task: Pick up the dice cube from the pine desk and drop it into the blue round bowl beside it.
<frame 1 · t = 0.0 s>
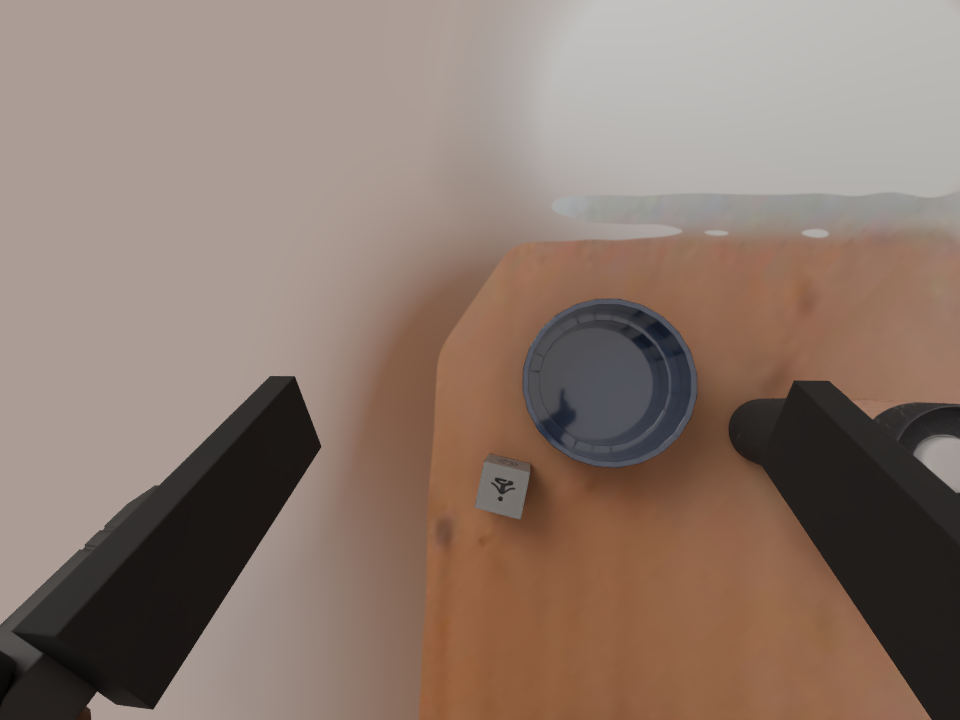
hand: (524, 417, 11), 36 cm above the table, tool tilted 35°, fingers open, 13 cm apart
dice cube: (505, 479, 46), on the table
travel mug: (761, 430, 43), on the table
blue round bowl: (597, 382, 45), on the table
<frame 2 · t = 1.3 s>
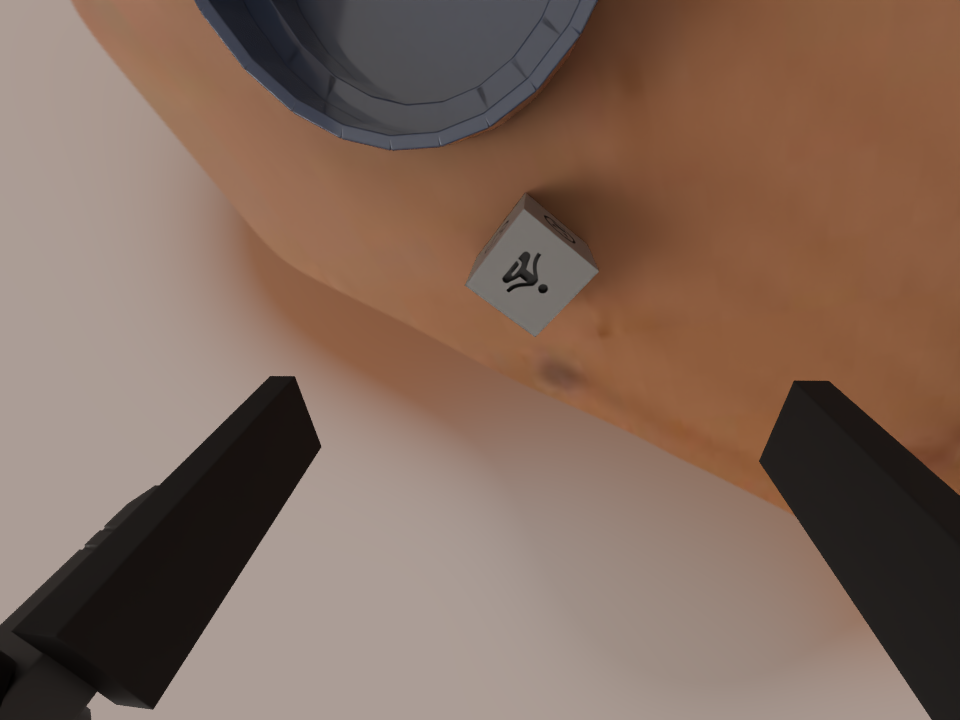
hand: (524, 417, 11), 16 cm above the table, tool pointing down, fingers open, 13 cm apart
dice cube: (530, 250, 25), on the table
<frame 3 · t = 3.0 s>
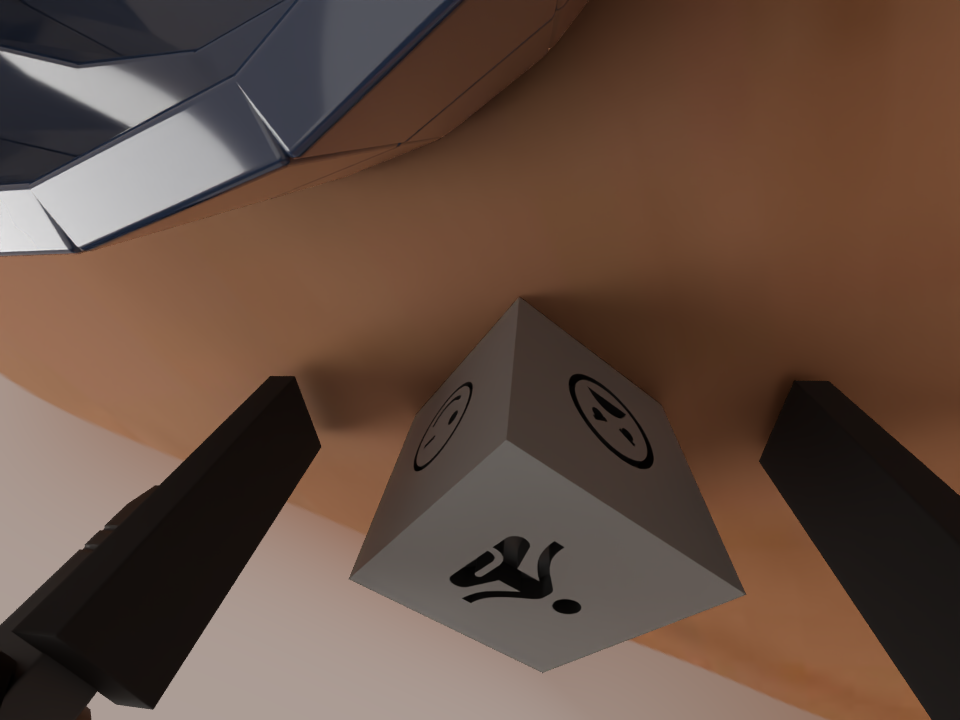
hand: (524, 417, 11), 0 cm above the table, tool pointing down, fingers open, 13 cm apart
dice cube: (531, 406, 11), on the table
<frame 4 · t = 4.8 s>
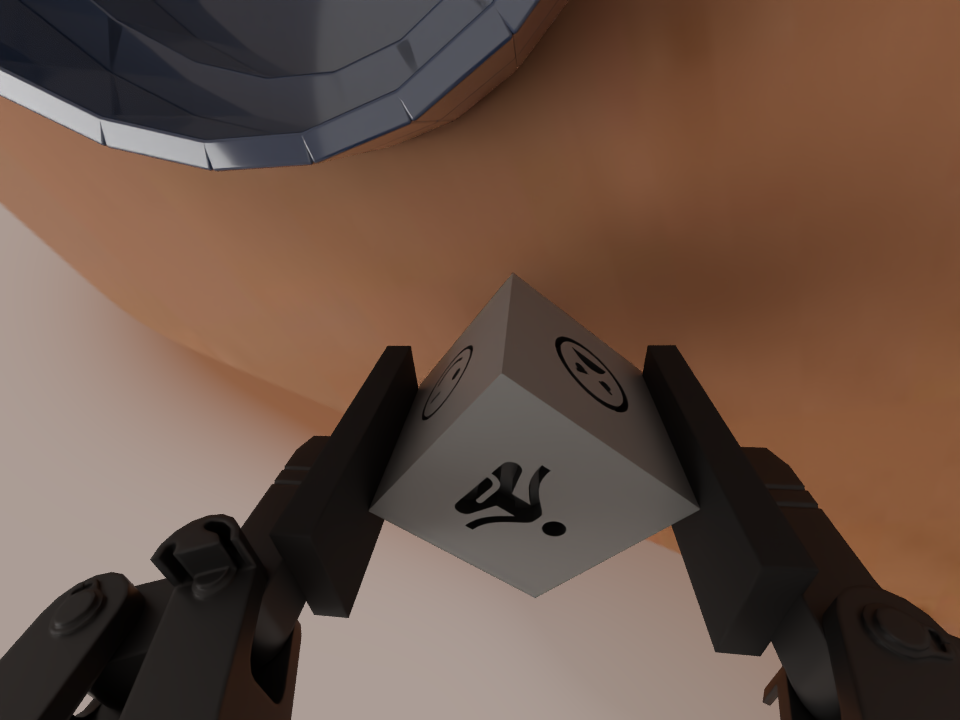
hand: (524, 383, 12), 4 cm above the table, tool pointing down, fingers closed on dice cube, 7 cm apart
dice cube: (524, 374, 13), point 4 cm above the table, touching gripper
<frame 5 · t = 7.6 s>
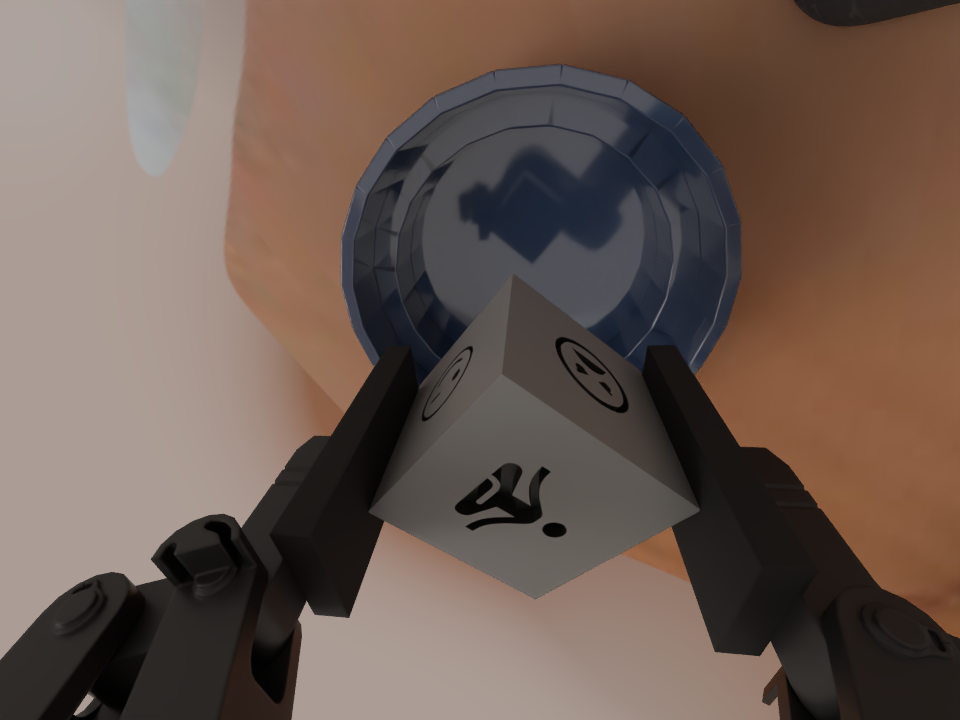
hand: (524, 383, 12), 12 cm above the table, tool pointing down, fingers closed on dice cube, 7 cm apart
dice cube: (524, 374, 13), point 12 cm above the table, touching gripper
blue round bowl: (528, 263, 22), on the table
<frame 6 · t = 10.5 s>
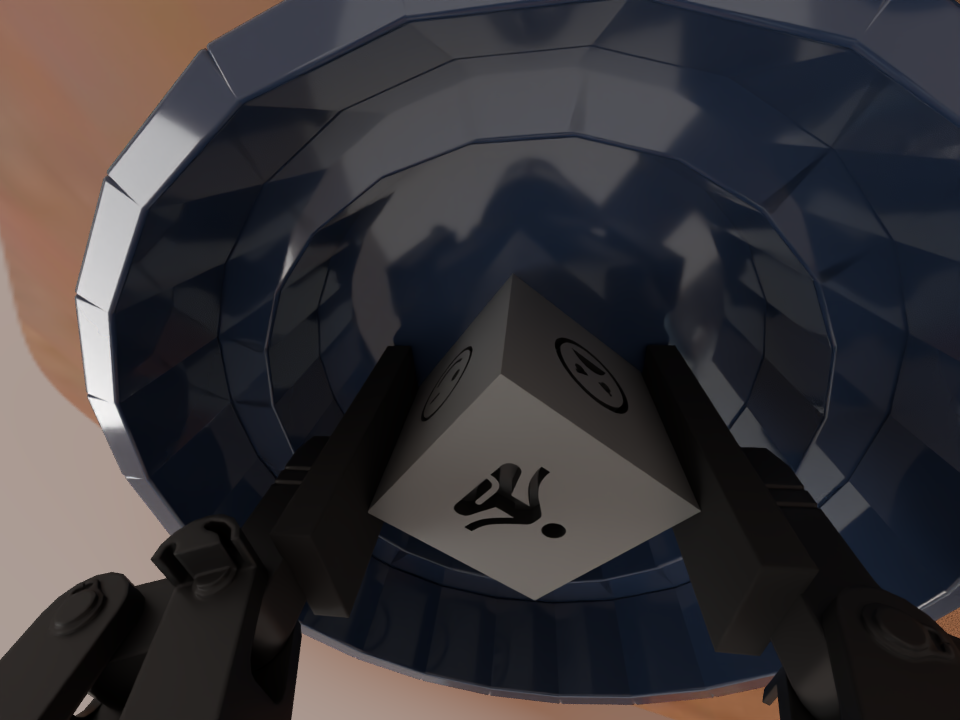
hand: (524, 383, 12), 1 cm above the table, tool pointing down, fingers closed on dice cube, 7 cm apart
dice cube: (524, 375, 13), resting on blue round bowl, touching gripper
blue round bowl: (525, 370, 13), on the table
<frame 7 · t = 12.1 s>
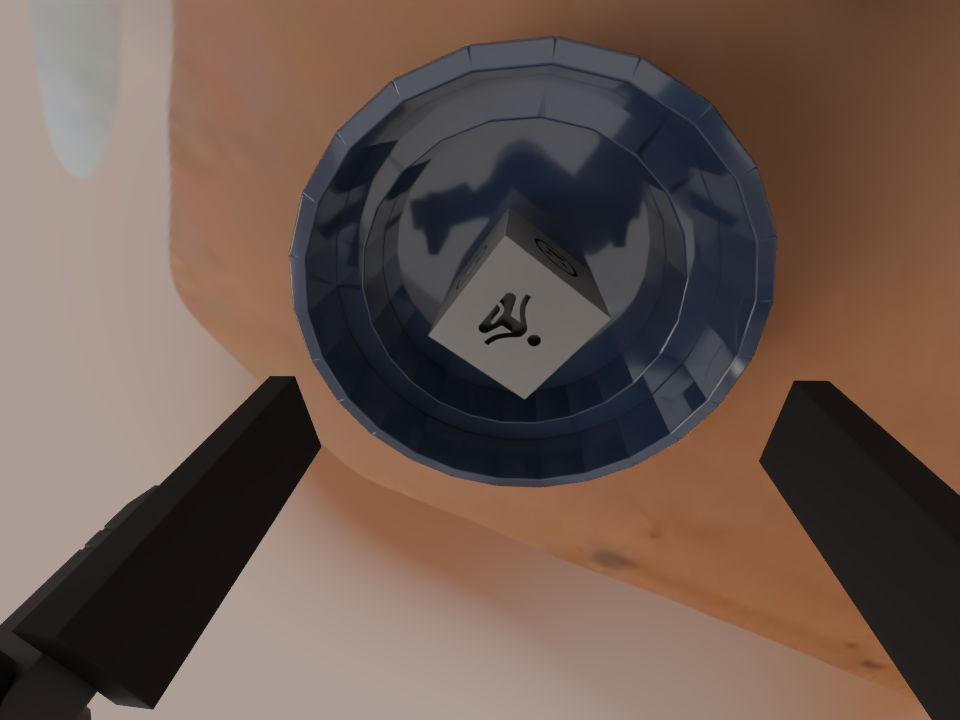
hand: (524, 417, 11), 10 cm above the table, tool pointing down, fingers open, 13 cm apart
dice cube: (518, 279, 19), resting on blue round bowl
blue round bowl: (518, 277, 20), on the table
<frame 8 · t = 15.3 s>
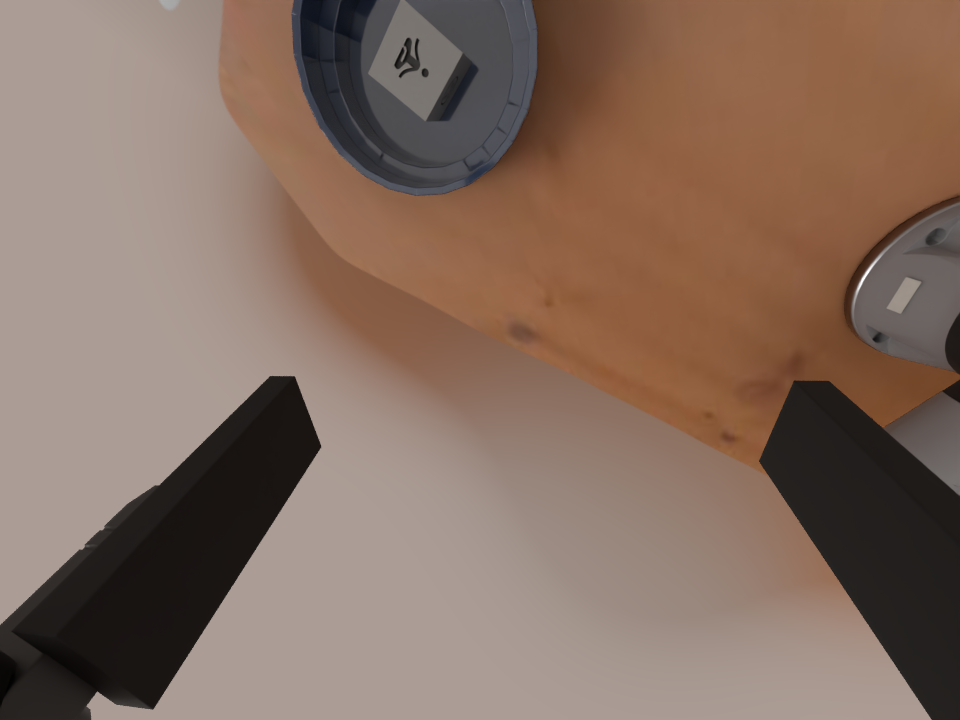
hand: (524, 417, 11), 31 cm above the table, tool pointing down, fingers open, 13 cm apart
dice cube: (430, 71, 32), resting on blue round bowl
blue round bowl: (431, 71, 32), on the table
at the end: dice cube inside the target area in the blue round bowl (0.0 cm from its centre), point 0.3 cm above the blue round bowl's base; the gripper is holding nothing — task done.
